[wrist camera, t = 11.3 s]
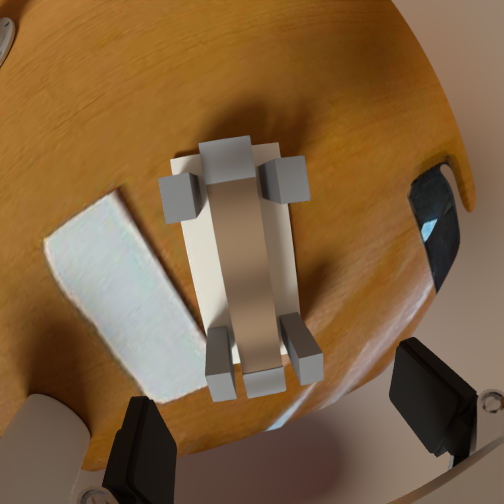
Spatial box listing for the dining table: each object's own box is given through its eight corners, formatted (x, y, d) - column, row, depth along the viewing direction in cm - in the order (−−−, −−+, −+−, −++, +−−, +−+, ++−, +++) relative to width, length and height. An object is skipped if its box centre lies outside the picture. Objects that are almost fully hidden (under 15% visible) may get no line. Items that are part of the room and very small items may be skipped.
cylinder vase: (51, 384, 29) (-20, 512, 5) (106, 439, 32) (73, 567, 8) (16, 398, 29) (-43, 496, 5) (64, 447, 33) (28, 548, 8)
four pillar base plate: (172, 160, 25) (149, 149, 16) (276, 143, 26) (303, 125, 17) (215, 361, 30) (215, 417, 22) (300, 345, 31) (326, 394, 23)
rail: (203, 152, 24) (198, 143, 18) (242, 146, 25) (249, 135, 19) (242, 362, 30) (248, 398, 24) (274, 356, 30) (286, 390, 24)
